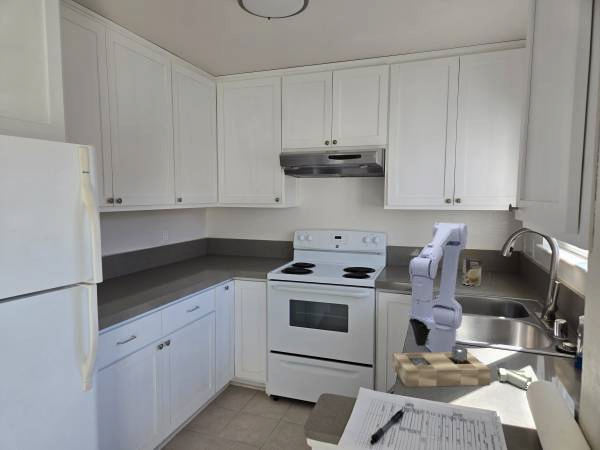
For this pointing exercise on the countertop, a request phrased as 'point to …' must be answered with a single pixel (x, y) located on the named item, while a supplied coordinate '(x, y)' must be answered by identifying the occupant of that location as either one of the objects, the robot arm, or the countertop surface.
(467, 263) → the coffee box
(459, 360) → the peg
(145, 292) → the countertop surface
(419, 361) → the peg
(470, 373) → the socket block
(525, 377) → the pipe fitting
